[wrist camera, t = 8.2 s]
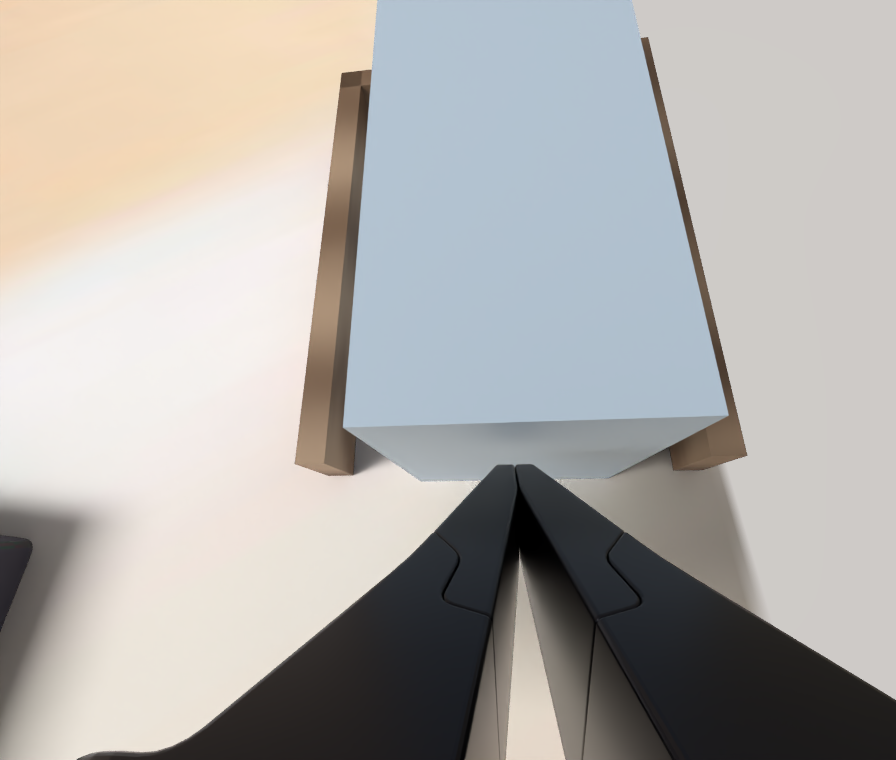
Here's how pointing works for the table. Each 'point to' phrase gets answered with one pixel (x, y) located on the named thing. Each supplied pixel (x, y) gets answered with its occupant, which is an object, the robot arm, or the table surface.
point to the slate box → (521, 248)
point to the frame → (332, 313)
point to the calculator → (11, 569)
